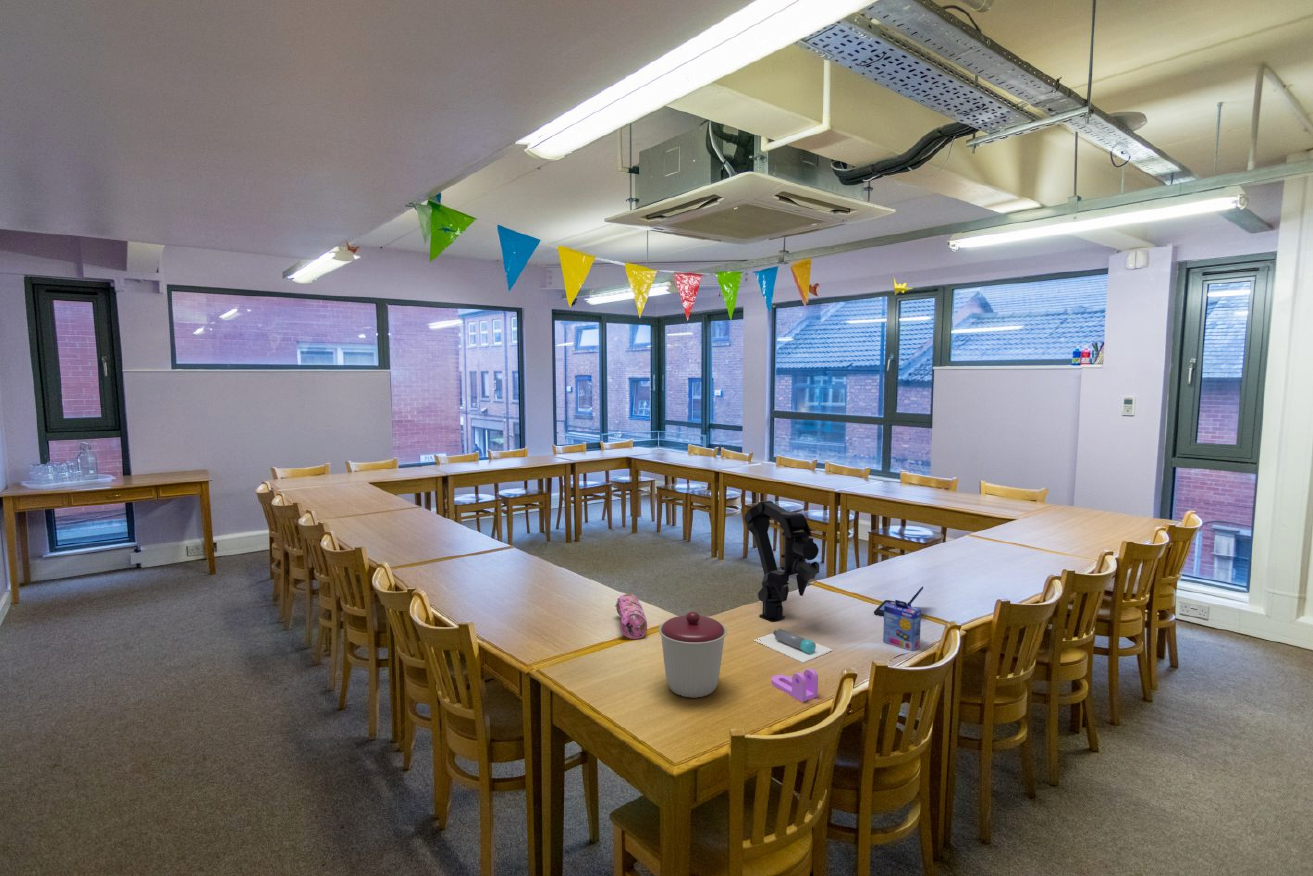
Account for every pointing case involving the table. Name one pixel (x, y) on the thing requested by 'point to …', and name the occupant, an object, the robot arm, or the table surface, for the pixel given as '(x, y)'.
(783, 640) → the marker
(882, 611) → the handheld game console
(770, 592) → the robot arm
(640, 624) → the pencil case
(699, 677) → the canister
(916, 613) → the ink cartridge box
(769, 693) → the table surface
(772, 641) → the paper sheet
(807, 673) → the bracket
